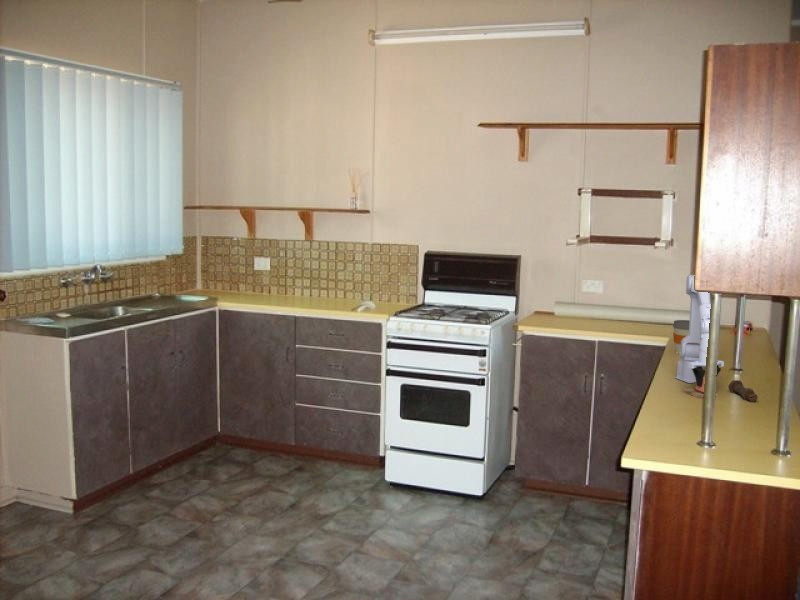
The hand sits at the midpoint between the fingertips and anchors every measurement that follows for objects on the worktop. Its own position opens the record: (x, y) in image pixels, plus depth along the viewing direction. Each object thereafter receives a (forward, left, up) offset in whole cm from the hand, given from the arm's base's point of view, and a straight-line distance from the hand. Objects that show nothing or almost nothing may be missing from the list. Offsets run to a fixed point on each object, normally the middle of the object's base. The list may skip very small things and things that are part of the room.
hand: (704, 385), depth 301 cm
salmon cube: (0, 0, -2) cm, 2 cm away
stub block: (-2, 0, -4) cm, 5 cm away
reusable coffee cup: (-69, +45, -4) cm, 83 cm away
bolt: (+5, +14, -4) cm, 15 cm away
